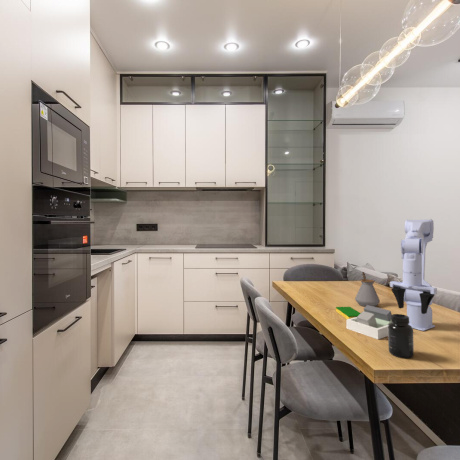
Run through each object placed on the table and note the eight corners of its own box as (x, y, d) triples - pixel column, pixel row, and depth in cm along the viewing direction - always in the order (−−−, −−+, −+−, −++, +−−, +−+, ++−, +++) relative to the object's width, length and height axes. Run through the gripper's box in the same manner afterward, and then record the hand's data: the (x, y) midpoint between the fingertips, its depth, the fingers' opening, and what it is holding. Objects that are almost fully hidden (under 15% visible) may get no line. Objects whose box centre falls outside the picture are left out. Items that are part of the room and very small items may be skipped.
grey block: (366, 322, 111) (363, 311, 110) (377, 325, 107) (374, 314, 106) (359, 328, 109) (356, 317, 108) (370, 332, 105) (367, 320, 104)
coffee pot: (381, 309, 138) (381, 278, 138) (356, 307, 142) (356, 277, 142) (374, 298, 158) (374, 272, 158) (352, 297, 162) (352, 271, 162)
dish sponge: (348, 321, 122) (348, 315, 122) (335, 311, 136) (335, 306, 136) (364, 320, 122) (364, 315, 122) (350, 311, 136) (350, 306, 136)
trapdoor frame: (368, 322, 119) (368, 313, 119) (400, 331, 108) (399, 322, 108) (346, 328, 112) (346, 319, 112) (378, 339, 101) (378, 329, 100)
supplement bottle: (404, 349, 92) (404, 312, 92) (418, 358, 86) (418, 319, 86) (383, 349, 92) (383, 312, 92) (396, 359, 85) (396, 319, 85)
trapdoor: (368, 312, 117) (366, 304, 116) (394, 319, 108) (391, 311, 107) (353, 328, 112) (350, 320, 111) (378, 336, 103) (375, 328, 102)
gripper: (385, 270, 104) (385, 307, 104) (429, 276, 92) (429, 317, 92) (396, 269, 108) (396, 304, 108) (439, 274, 95) (439, 314, 95)
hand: (412, 310), depth 100 cm, fingers open, 7 cm apart
